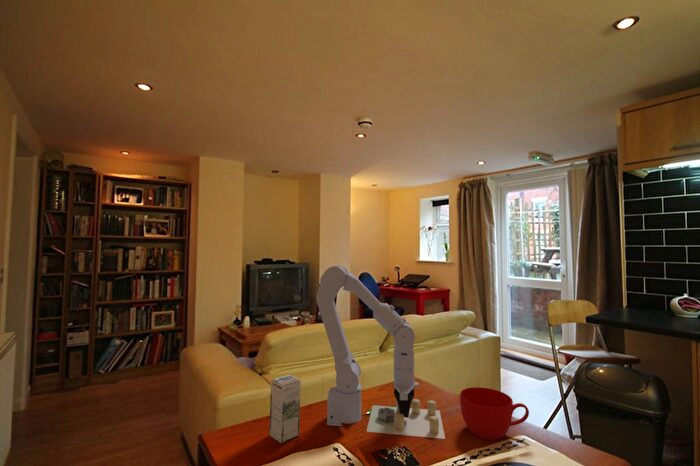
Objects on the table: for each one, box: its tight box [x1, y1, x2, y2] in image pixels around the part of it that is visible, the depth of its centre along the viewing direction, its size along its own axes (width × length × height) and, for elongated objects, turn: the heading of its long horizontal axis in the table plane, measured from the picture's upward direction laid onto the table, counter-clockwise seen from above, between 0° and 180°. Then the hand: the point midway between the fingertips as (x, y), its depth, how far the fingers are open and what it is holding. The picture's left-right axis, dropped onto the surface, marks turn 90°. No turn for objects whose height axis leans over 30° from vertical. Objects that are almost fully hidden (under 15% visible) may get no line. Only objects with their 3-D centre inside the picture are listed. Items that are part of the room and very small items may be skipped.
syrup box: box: [268, 374, 302, 444], centre depth 90 cm, size 6×6×14 cm
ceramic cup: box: [459, 386, 530, 441], centre depth 90 cm, size 13×17×10 cm
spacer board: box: [366, 398, 446, 440], centre depth 96 cm, size 20×16×4 cm
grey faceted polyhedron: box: [378, 408, 395, 423], centre depth 97 cm, size 5×4×2 cm
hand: (404, 416), depth 96 cm, fingers closed
